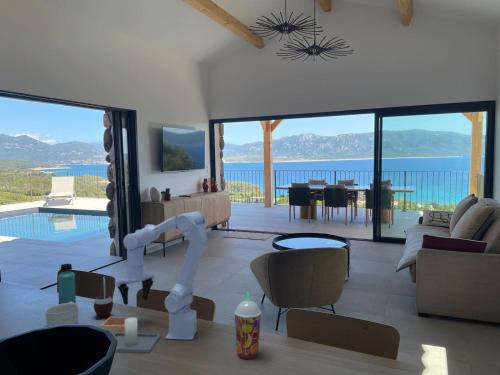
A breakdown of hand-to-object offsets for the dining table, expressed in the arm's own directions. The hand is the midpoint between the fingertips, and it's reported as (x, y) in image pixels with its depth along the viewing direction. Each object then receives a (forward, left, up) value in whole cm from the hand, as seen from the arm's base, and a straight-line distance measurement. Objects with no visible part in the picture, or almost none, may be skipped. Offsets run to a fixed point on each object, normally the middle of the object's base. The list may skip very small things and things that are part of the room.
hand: (135, 301), depth 141 cm
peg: (-4, +15, -9) cm, 18 cm away
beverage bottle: (+33, -12, -10) cm, 36 cm away
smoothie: (-43, +19, -10) cm, 48 cm away
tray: (-4, +15, -9) cm, 18 cm away
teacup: (+26, +2, -10) cm, 28 cm away
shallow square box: (+6, +3, -9) cm, 12 cm away
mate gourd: (+16, -8, -10) cm, 20 cm away
